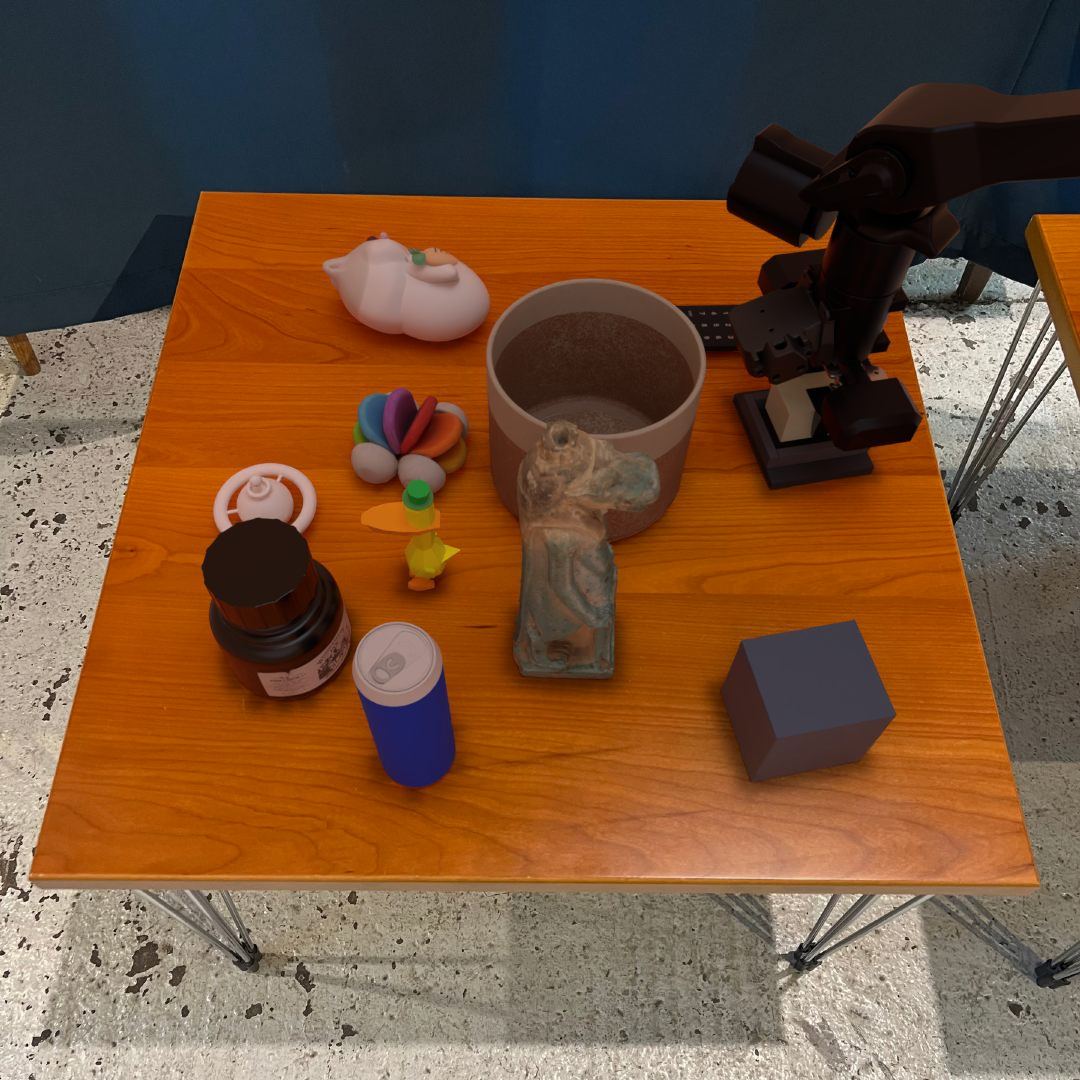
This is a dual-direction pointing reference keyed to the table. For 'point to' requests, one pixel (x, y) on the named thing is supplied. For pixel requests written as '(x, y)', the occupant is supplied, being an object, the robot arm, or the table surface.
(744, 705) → the dark gray cube
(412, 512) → the toy figure
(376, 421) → the rainbow stacking pebbles
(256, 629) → the ink bottle
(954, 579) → the table surface
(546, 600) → the statue
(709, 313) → the remote control
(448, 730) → the beverage can
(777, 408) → the beige block
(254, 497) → the ring around a ball
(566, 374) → the planter
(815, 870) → the table surface
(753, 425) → the dark gray square tray
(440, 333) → the cat figurine
